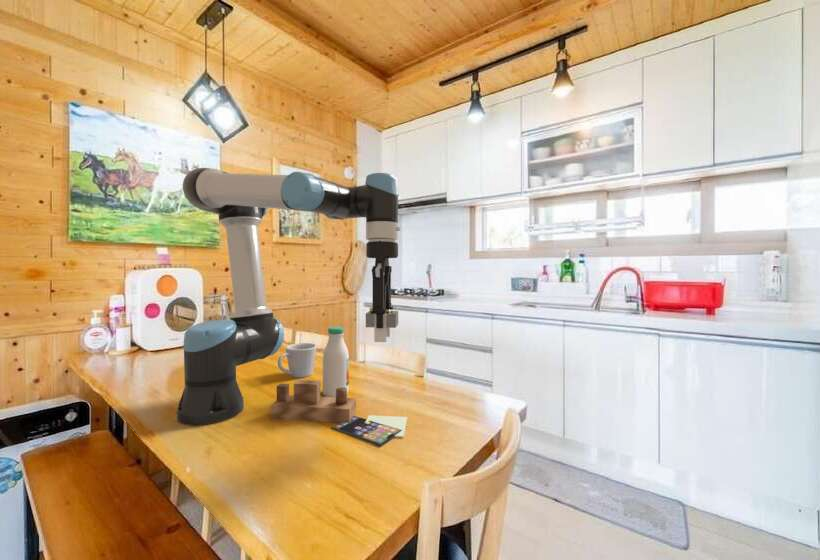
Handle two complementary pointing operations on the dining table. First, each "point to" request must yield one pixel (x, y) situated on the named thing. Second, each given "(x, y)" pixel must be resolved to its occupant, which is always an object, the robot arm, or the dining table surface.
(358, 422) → the smartphone
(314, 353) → the mug
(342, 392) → the wooden peg board
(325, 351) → the milk bottle
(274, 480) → the dining table surface
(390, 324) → the lever cap
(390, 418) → the thin cream card
